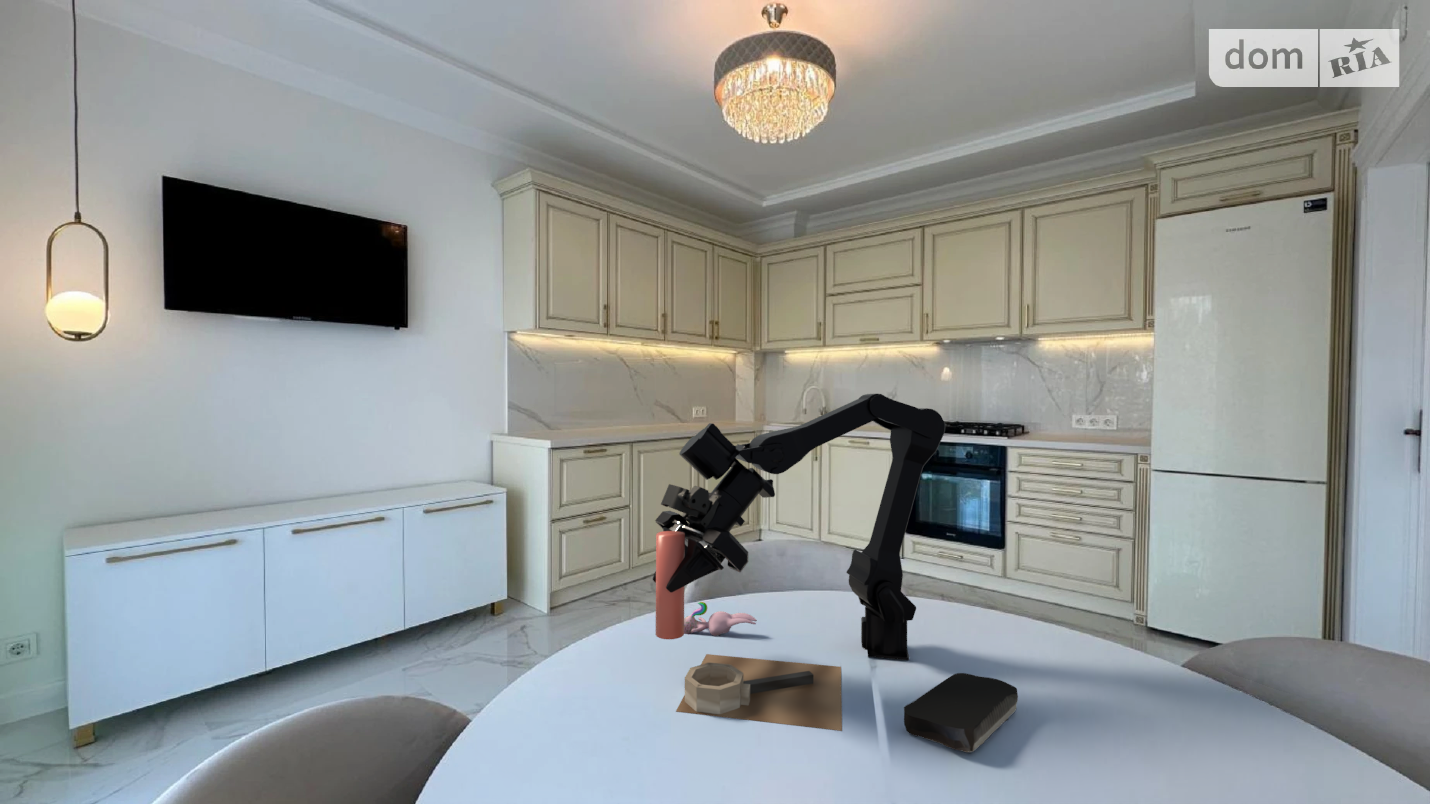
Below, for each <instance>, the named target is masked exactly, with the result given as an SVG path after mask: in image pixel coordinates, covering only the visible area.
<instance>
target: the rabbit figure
mask: <svg viewBox="0 0 1430 804" xmlns="http://www.w3.org/2000/svg"><path fill="white" fill-rule="evenodd" d="M697 604H698V605H699V606H700V607H699V608H697V609H695V610H693V612H692V613H691V614H690V615H687V616H686V617H684V635H691V634H693V633H701V632H704V630H707V629H708V630H709V633H710V634H711V635H712V636H713V637H718V636H719V637H720V636H721V635H722V634H728V632H729V631H730V630H731V628H732V627H733V626H736V625H738V624H745V623H747V624H750V625H756V624H757V621H758V619H756V618H755V617H754V616H752V615H751V614H748V613H745V612H736V613H733V614H731V613H728V612H727V611H716V612H713V613H711V615H710V616H709V618H708V621H706V619H704V618H703V617H701V616H703V615H705V614H706V613H707V611H708V604H707V603H706V602H705V601H700V602H697ZM695 616H699V617H698V620H697V619H696V618H695Z"/></svg>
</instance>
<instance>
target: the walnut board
mask: <svg viewBox="0 0 1430 804" xmlns="http://www.w3.org/2000/svg"><path fill="white" fill-rule="evenodd" d="M842 702H843V701H842V666H838V665H827V664H826V665H825V664H818V663H816V664H815V663H805V662H796V661H795V662H794V661H786V660H785V661H784V660H776V659H775V660H771V659H762V658H751V657H743V656H733V655H732V656H729V655H720V654H719V655H718V654H711V653H710V654H709V653H705V655H704V657H703V659H702V662H701V664H699V665H696V666H691V667H690V668H689V670H688V672H687V673H686V675H685V676H684V695H683V697H682V699H681V700H680V703H679V705H678V706H677V709H675V713H685V714H692V715H702V716H708V717H709V716H710V717H719V718H727V719H734V720H736V719H737V720H742V721H743V720H744V721H752V722H753V721H754V722H760V723H761V722H762V723H769V724H779V725H787V726H788V725H789V726H795V727H804V728H812V729H822V730H831V731H839V732H843V728H842V727H843V721H842V720H843V718H842V717H843V714H842V711H843V709H842V707H843V706H842Z"/></svg>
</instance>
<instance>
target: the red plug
mask: <svg viewBox="0 0 1430 804" xmlns="http://www.w3.org/2000/svg"><path fill="white" fill-rule="evenodd" d="M655 535H656V538H655V539H656V540H655V542H656V545H655V548H656V549H655V571H656V583H655V636H656V638H659V639H661V640H677V639H679V638H682V637H683V636H684V635H685V634H684V619H685V586H684V587H682V588H680V589H678V590H676V591H674V592H672V593H671V592H669V591H668V590H667V589H666V586H667V584H668V582H669V581H670V579H671V577H672V576H673V574H674V573H675V571H676V570H677V568H678V566H679V565H680V563H681V562H682V560H683V559H684V557H685V533H683V532H679V531H663V530H662V531H659V532H657V533H656V534H655Z"/></svg>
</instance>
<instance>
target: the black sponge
mask: <svg viewBox="0 0 1430 804" xmlns="http://www.w3.org/2000/svg"><path fill="white" fill-rule="evenodd" d="M1018 699H1019V694H1018V688H1017V687H1015V686H1014V685H1011V684H1010V683H1008V682H1006V681H1003V680H1001V679H997V678H993V677H987V676H980V675H974V674H971V673H965V672H957V673H954V674H951V675H950V676H948V678H946V679H944V680H943V681H941V682H940V683H938V684H937V685H935V686H934V687H932V688H931V689H930V690H928V691H927V692H925V693H924V694H922V695H921V696H919V697H918V698H916V699H915V700H913V701H912V702H910V703H907V704H906V705H905V706H904V707H903V714H904V715H903V717H904V718H903V722H904V723H903V724H904V727H905V729H906V732H907V733H909V734H911V735H912V736H915V737H920V738H923V739H926V740H929V741H931V742H934V743H937V744H941V745H943V746H944V747H947V748H950V749H951V750H952V749H953V750H954V751H960V752H965V753H973V752H974V751H976V750H977V749H978V748H979V746H982V745H983V744H984V743H985V741H987V740H988V739H989V737H991V735H992V734H993V733H995V732H996V731H997V730H998V728H1000V727H1001V726H1002V725H1003V724H1004V723H1005V722H1006V721H1007V720H1008V719H1009V718H1010V717H1011V715H1013V714H1014V713H1015V711H1016V710H1017V703H1018V701H1019V700H1018Z"/></svg>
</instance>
